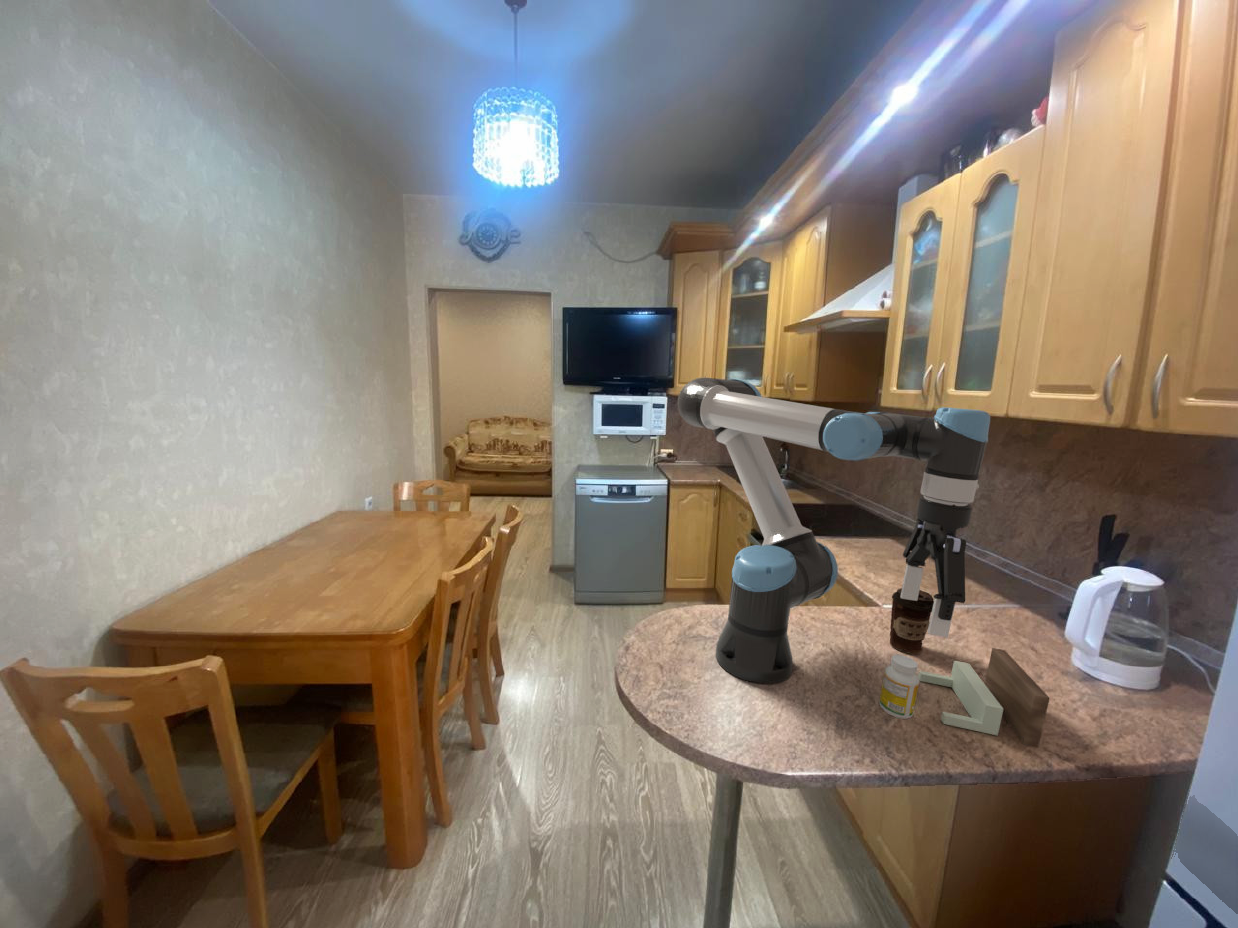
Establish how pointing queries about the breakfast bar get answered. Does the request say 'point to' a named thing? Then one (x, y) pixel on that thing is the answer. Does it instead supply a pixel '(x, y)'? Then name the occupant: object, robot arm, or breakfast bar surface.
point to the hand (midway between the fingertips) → (921, 615)
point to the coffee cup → (910, 621)
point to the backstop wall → (1017, 697)
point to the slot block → (969, 699)
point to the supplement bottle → (900, 687)
